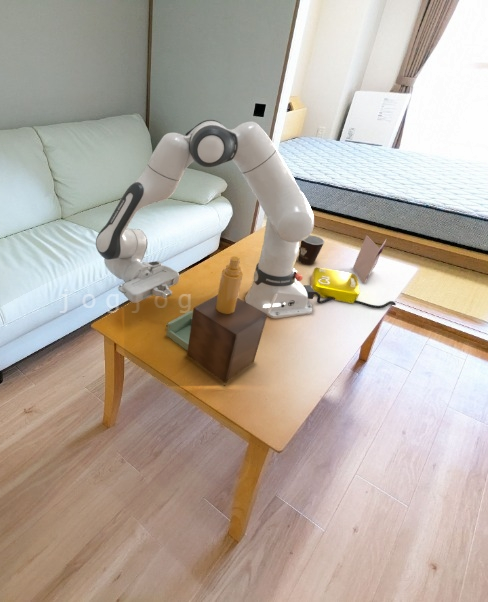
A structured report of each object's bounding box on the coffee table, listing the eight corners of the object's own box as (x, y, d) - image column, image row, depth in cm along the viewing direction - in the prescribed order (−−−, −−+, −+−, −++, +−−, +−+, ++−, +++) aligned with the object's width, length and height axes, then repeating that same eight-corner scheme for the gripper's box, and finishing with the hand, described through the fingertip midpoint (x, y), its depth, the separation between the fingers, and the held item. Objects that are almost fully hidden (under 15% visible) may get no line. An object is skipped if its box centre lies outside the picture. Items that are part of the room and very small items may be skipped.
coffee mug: (320, 266, 153) (328, 244, 147) (299, 266, 153) (306, 244, 147) (309, 253, 163) (316, 232, 157) (289, 252, 163) (295, 231, 157)
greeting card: (366, 284, 142) (382, 249, 134) (345, 277, 146) (360, 243, 137) (373, 272, 149) (389, 239, 141) (353, 266, 153) (367, 233, 145)
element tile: (355, 304, 131) (360, 293, 129) (310, 295, 136) (314, 284, 133) (352, 283, 143) (357, 273, 140) (311, 275, 147) (314, 265, 145)
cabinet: (186, 357, 109) (193, 307, 98) (215, 339, 116) (224, 290, 105) (224, 386, 100) (236, 334, 90) (253, 364, 107) (267, 314, 96)
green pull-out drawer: (161, 333, 117) (162, 319, 114) (183, 320, 123) (185, 306, 119) (198, 361, 107) (201, 346, 104) (221, 345, 113) (224, 331, 109)
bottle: (232, 302, 101) (242, 253, 92) (237, 313, 96) (248, 263, 88) (213, 302, 100) (222, 253, 92) (217, 314, 96) (227, 263, 88)
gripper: (115, 279, 117) (144, 298, 108) (162, 259, 127) (191, 276, 119) (115, 295, 120) (143, 316, 112) (161, 275, 131) (189, 292, 122)
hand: (168, 295), depth 115 cm, fingers closed
